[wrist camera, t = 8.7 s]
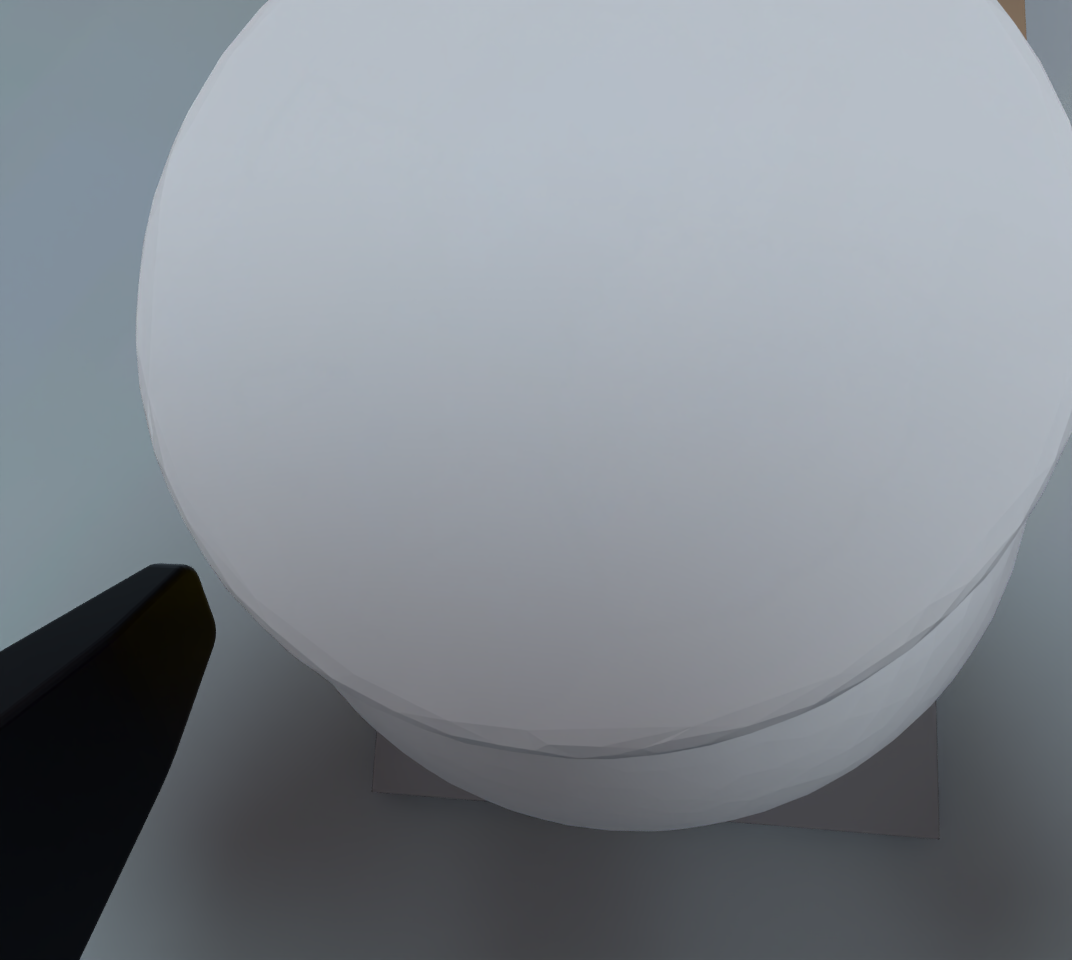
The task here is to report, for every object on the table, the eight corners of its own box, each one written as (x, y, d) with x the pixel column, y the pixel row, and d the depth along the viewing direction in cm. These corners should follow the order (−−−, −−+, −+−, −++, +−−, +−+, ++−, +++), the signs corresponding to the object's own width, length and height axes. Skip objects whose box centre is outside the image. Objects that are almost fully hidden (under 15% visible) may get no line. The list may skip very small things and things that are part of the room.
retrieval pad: (931, 833, 16) (939, 839, 15) (380, 787, 17) (371, 792, 17) (918, 290, 17) (925, 280, 17) (419, 294, 19) (413, 285, 18)
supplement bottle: (423, 649, 17) (-279, 651, 5) (547, 333, 18) (239, -405, 5) (767, 789, 16) (1115, 1346, 3) (884, 439, 16) (1532, -224, 4)
